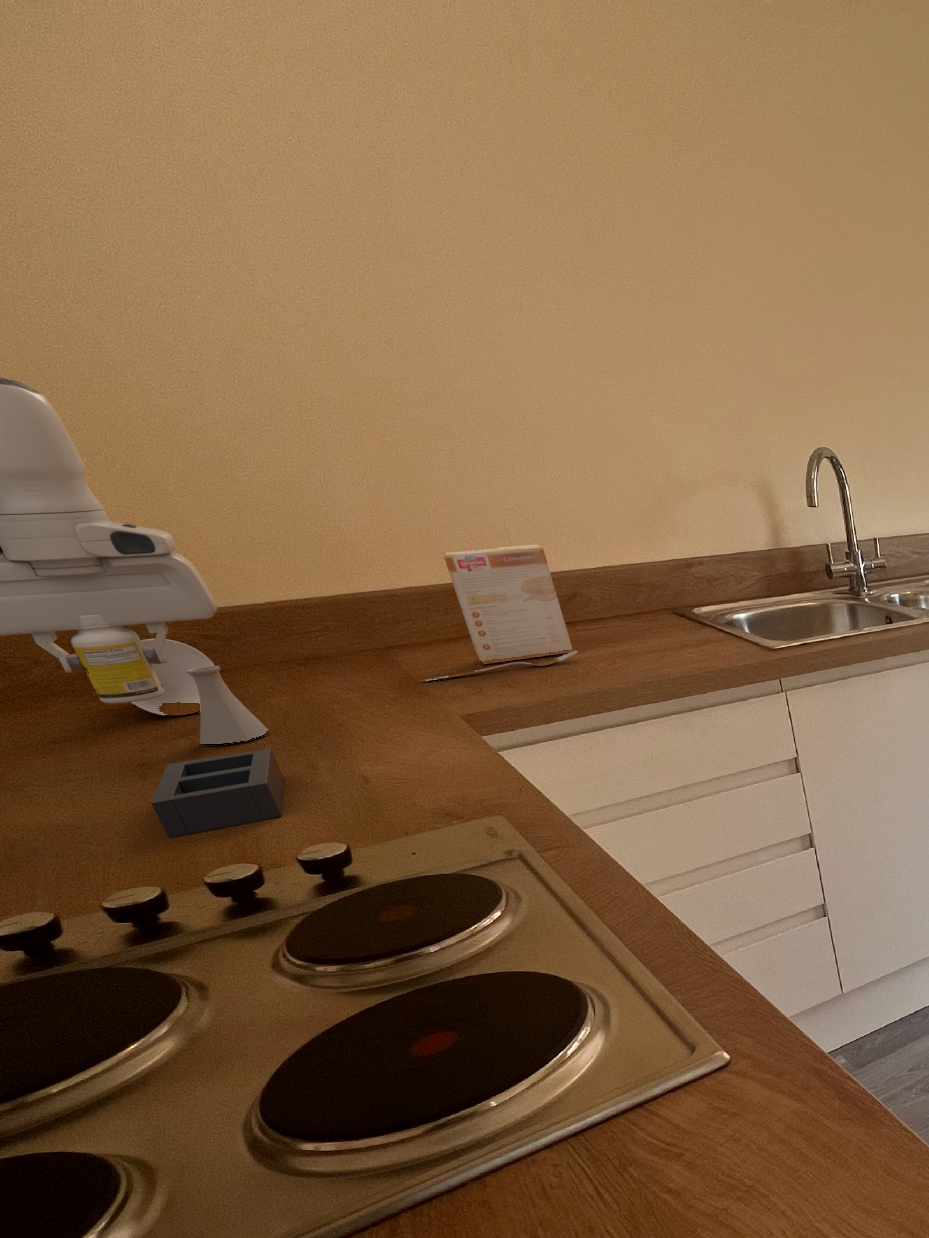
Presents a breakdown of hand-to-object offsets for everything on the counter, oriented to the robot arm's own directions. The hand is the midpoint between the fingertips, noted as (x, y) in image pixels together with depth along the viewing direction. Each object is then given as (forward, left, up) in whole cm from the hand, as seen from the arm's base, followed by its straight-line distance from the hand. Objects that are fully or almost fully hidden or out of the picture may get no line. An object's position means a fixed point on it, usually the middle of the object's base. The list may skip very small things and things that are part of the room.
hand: (119, 667), depth 109 cm
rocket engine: (-4, +53, -15) cm, 55 cm away
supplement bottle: (0, 0, -4) cm, 4 cm away
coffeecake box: (+44, +56, -15) cm, 73 cm away
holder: (+5, -14, -15) cm, 21 cm away
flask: (+4, +22, -15) cm, 27 cm away
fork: (+39, +45, -15) cm, 62 cm away
